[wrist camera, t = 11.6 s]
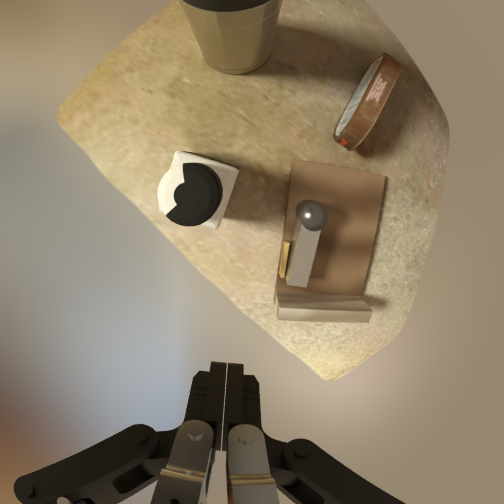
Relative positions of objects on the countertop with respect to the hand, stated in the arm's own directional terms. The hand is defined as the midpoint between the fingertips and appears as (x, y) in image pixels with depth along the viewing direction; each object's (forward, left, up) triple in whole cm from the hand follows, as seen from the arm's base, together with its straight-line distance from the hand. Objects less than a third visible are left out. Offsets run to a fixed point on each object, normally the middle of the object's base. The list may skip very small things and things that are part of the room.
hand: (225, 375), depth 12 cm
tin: (-20, +14, -27) cm, 37 cm away
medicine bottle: (-6, -5, -27) cm, 28 cm away
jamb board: (0, +13, -27) cm, 30 cm away
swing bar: (0, +8, -25) cm, 27 cm away
